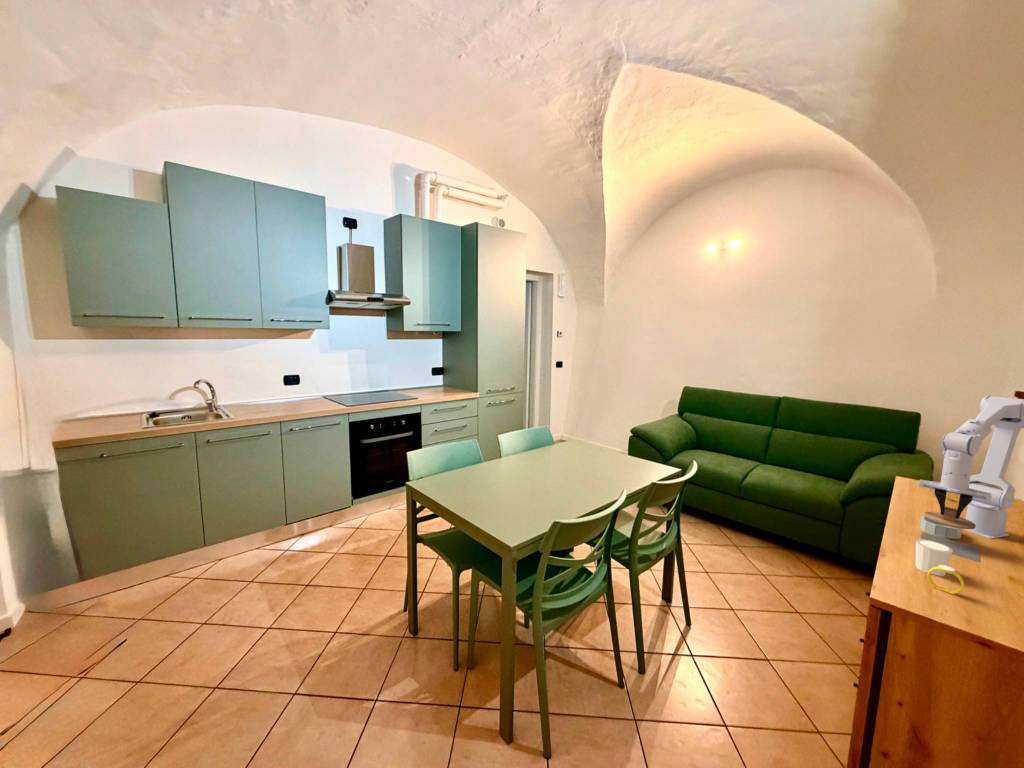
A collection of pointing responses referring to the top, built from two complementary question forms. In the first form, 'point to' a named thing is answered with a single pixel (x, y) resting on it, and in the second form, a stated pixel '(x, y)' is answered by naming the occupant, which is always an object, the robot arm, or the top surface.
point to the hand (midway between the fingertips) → (949, 515)
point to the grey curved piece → (939, 529)
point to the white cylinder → (932, 556)
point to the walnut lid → (950, 519)
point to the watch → (947, 570)
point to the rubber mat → (956, 547)
